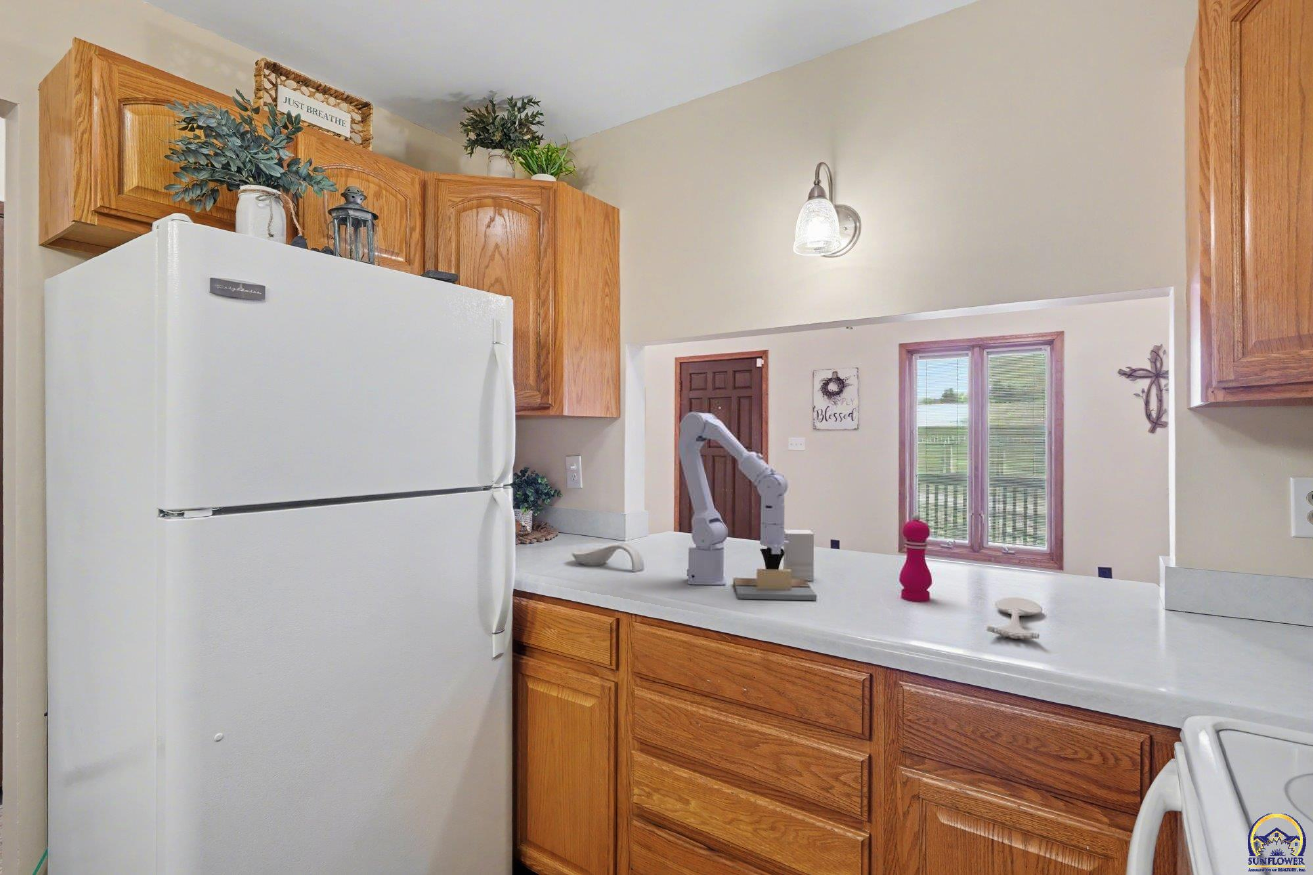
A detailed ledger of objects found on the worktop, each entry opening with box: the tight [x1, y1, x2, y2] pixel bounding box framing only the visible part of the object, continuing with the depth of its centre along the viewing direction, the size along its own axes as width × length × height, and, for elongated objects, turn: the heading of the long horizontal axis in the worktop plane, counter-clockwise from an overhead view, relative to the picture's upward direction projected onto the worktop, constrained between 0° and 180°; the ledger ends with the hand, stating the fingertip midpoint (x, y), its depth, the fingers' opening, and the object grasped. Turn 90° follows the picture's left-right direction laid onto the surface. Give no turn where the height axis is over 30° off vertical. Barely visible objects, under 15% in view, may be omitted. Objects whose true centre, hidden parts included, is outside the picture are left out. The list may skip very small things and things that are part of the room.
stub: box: [735, 568, 818, 601], centre depth 155 cm, size 18×7×6 cm, turn 87°
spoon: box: [986, 596, 1043, 640], centre depth 133 cm, size 9×32×4 cm, turn 149°
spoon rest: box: [571, 542, 645, 573], centre depth 189 cm, size 24×12×7 cm, turn 54°
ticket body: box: [732, 577, 811, 592], centre depth 163 cm, size 18×8×2 cm, turn 87°
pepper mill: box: [898, 513, 933, 602], centre depth 154 cm, size 7×7×20 cm
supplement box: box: [782, 529, 815, 582], centre depth 175 cm, size 7×7×13 cm
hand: (771, 578), depth 161 cm, fingers closed
